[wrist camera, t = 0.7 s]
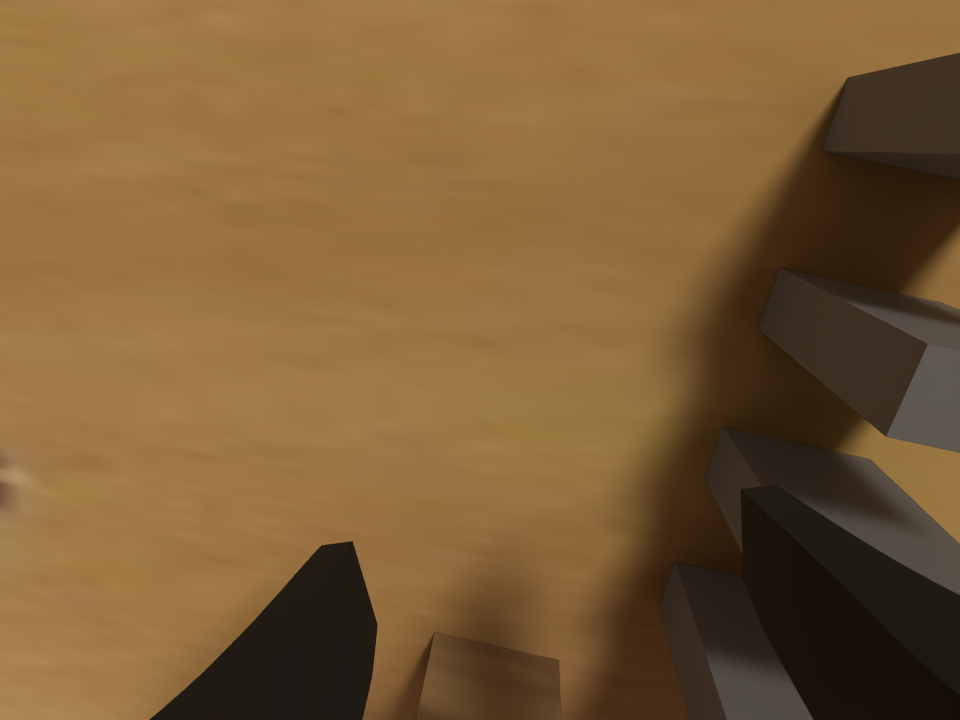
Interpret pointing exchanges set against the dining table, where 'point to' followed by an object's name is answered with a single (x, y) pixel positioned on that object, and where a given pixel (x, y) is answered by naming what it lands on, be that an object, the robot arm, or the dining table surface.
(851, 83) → the tile
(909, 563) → the tile
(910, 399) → the tile
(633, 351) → the dining table surface
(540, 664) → the tile
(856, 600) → the robot arm
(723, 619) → the grey rectangular block
